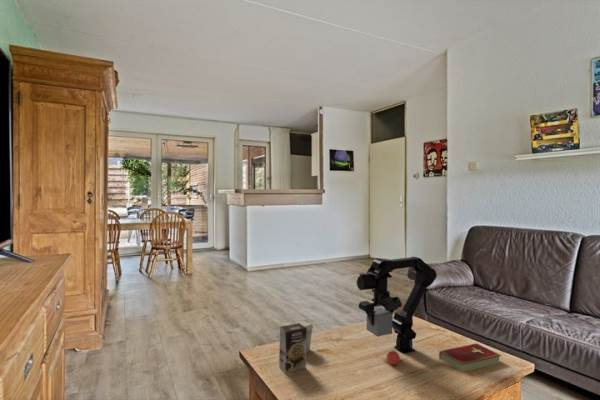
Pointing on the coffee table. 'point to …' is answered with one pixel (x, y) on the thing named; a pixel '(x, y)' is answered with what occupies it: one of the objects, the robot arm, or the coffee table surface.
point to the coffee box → (292, 347)
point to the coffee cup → (309, 332)
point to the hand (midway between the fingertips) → (380, 324)
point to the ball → (393, 357)
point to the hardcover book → (469, 357)
